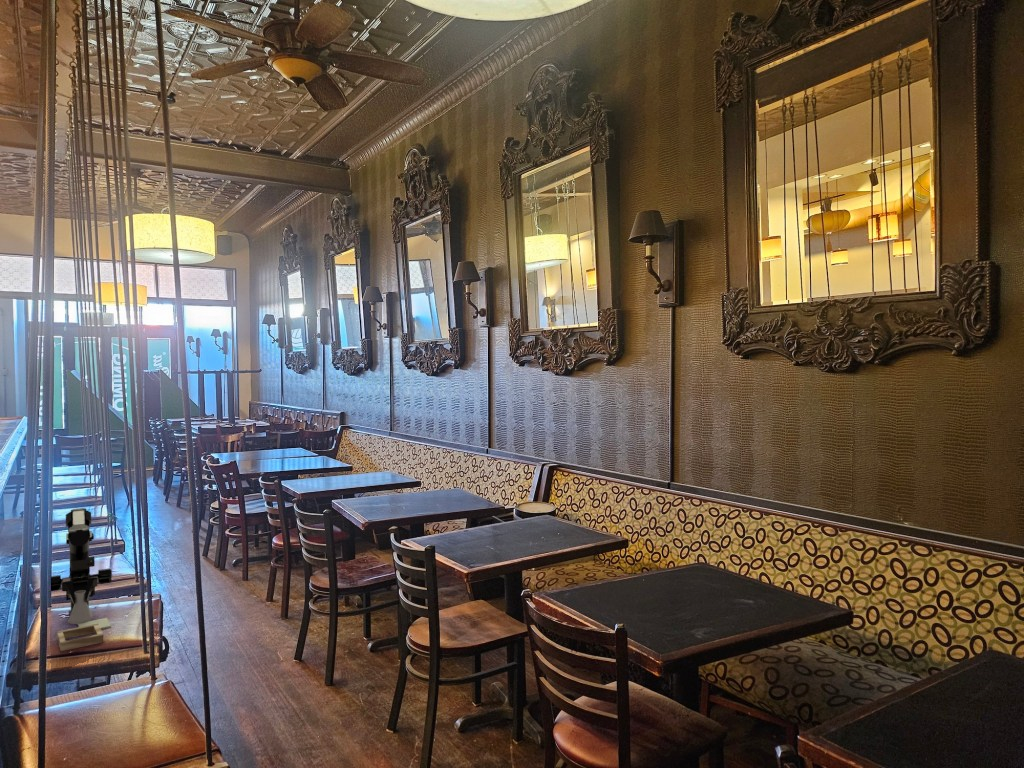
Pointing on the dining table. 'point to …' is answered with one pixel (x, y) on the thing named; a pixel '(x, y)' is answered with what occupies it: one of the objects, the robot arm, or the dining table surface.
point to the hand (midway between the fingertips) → (80, 602)
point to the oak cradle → (80, 641)
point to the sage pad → (102, 623)
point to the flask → (80, 609)
